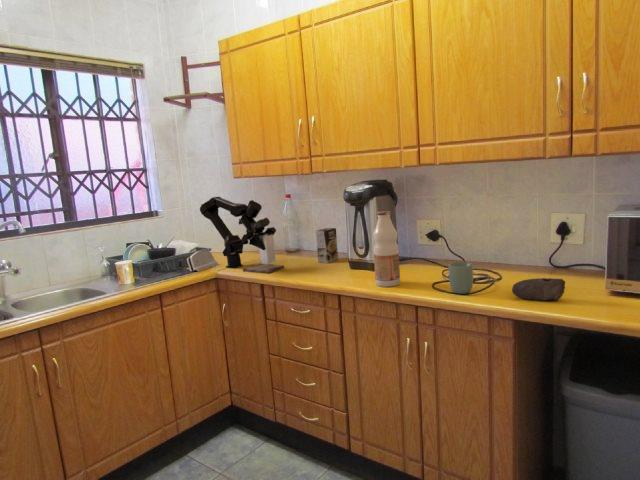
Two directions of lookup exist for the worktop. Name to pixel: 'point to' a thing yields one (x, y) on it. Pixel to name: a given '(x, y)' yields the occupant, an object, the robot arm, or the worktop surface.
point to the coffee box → (327, 245)
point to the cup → (461, 277)
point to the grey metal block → (201, 261)
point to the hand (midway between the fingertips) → (268, 248)
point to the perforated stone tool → (539, 289)
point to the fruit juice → (386, 252)
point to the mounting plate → (263, 268)
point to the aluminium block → (267, 249)
